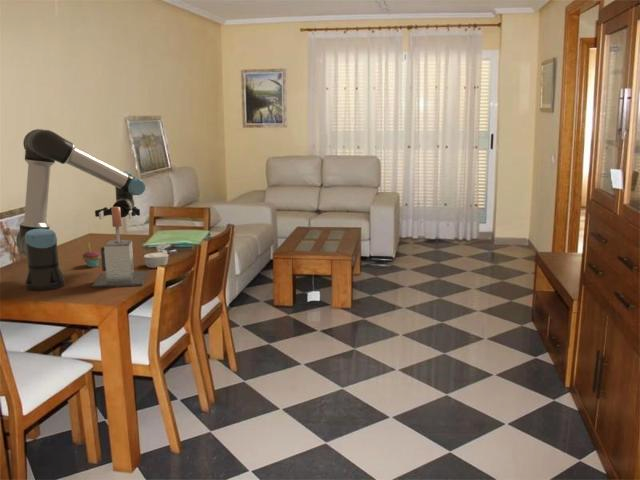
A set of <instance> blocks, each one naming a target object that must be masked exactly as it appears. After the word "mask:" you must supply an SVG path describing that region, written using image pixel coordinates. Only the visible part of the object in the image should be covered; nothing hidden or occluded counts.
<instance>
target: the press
mask: <svg viewBox="0 0 640 480" xmlns="http://www.w3.org/2000/svg"><path fill="white" fill-rule="evenodd" d="M100 254H101V258H100V259H101V269H102V271H103V272H104V273H99V275H98V276H97V277H96V280H95V281H94V283H93V284H92V286H91V287H92V289H101V288H103V289H105V288H123V287H124V288H126V287H142V286H143V285H144V283H145V280H146V278H147V275H148V271H135V266H134V253H133V239H120V243H117V241H116V239H110V240H106V242H105V243H104V245H103V246H101V247H100Z"/></svg>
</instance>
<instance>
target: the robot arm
mask: <svg viewBox="0 0 640 480" xmlns="http://www.w3.org/2000/svg"><path fill="white" fill-rule="evenodd" d="M22 144H23V148H24V150H25V151H24V161H25V163H27V164H28V166H27V179H26V192H25V193H26V194H25V204H24V205H25V208H24V217H23V218H24V220H23V221H21V223H19V230H18V231H19V232H18V233H17V236H16V244H17V247H18V249H19V250H20V251H21V252H22V253H23V254H24V255H26V259H27V268H28V269H27V274H26V278H25V280H24V281H25V282H24V283H25V289H26V290H29V291H36V292H39V291H49V290H55V289H59V288H61V287H64V286H65V284H66V280H65V277H64V275H63V273H62V270H61V268H60V265H59V264H60V263H59V254H58V253H59V251H58V238H57V234H56V232H55V231H54V230H52V229H50V226H51V225H50V224H49V223H48V222H47V217H48V214H47V213H48V205H49V204H48V202H49V189H50V178H51V177H50V175H51V167H52V166H53V165H54V164H55V162H58V163H59V164H63V165H65V164H67V165H69V166H71V167H74V168H76V169H78V170H80V171H82V172H84V173H86V174H88V175H90V176H93V177H95V178H96V179H98V180H101V181H103V182H105V183H106V184H107V183H108V184H110V185H112V186H114V187H115V200H116V201H115V202H114V204H113V205H112V207H120V210H121V219H122V218H125V217H127V216H128V219H129V220H130V219H132V218H133V217H135V216H137V217H138V216H140V215H141V211H140V208H137V206H135V201H134V196H142V194H143V193H145V190H146V183H145V181H144V180H142V179H141V178H140V177H135V176H133V174H132V172H131V171H129V170H121V169H119V168H117V167H115V166H114V165H111V164H109V163H108V162H106V161H103V160H101V159H99V158H98V157H95V156H93V154H92V155H91V154H89V153H88V152H86V151H83V150H81V149H80V148H79V147H78V148H77V147H76V146H75V144H74V142H71V141H69V140H68V139H66V138H64V137H62V136H60V135H59V134H58V133H56V132H54V131H52V130H49V129H43V128H41V129H40V128H36V129H33V130H30V131H29V132H28V133H26V135H25V136H24V139H23V143H22ZM94 216H95V218H97V217H98V218H99V220H100V221H101V220H103V218H104V217H106V216H112V210H111V207H109V208H108V207H106V206H105V207H103V208H100V209H97V210H94Z"/></svg>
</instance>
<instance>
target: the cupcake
mask: <svg viewBox="0 0 640 480" xmlns="http://www.w3.org/2000/svg"><path fill="white" fill-rule="evenodd" d="M87 247H88V251H86V252H84V253H83V254H82V255H81V256H82V260H83V261H84V262H85V264H86V267H89V268H93V267H94V268H95V267H98V266H99V263H100V260H101V259H102V258H101V252H99V251H96V250H91V245H90V243H89V242H87Z"/></svg>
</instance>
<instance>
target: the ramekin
mask: <svg viewBox="0 0 640 480" xmlns="http://www.w3.org/2000/svg"><path fill="white" fill-rule="evenodd" d="M143 259H144V262H145V265H146V267H147V268H152V269H157V268H156V267H157V266H158V265H166V264H168V261H169V253H166V252H149V253H146V254H144V255H143ZM166 266H167V265H166Z"/></svg>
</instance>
